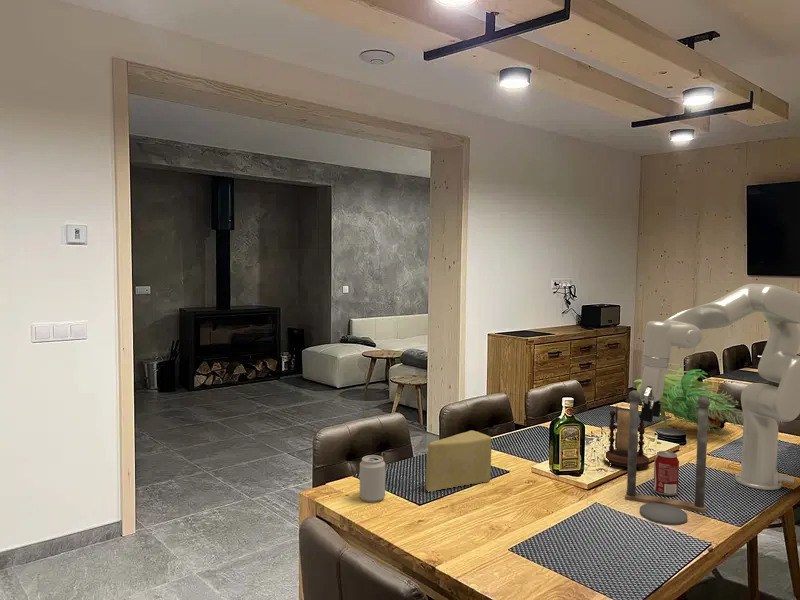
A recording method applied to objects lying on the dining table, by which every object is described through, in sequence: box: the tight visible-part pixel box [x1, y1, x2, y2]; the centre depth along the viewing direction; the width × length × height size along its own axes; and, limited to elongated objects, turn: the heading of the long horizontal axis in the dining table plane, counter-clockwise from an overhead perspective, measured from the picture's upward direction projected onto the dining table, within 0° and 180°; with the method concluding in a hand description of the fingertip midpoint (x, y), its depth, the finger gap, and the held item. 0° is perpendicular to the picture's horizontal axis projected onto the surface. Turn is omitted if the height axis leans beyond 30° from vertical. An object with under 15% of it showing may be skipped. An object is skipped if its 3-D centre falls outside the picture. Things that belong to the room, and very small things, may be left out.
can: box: [359, 454, 386, 503], centre depth 176 cm, size 8×8×12 cm
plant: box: [632, 362, 743, 441], centre depth 248 cm, size 35×35×40 cm
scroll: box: [605, 405, 650, 471], centre depth 207 cm, size 15×15×20 cm
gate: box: [624, 389, 711, 514], centre depth 173 cm, size 21×4×32 cm, turn 64°
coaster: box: [639, 503, 688, 526], centre depth 166 cm, size 12×12×1 cm
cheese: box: [425, 430, 492, 492], centre depth 187 cm, size 22×10×15 cm, turn 125°
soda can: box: [652, 450, 680, 497], centre depth 182 cm, size 7×7×12 cm
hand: (650, 418), depth 182 cm, fingers open, 9 cm apart
